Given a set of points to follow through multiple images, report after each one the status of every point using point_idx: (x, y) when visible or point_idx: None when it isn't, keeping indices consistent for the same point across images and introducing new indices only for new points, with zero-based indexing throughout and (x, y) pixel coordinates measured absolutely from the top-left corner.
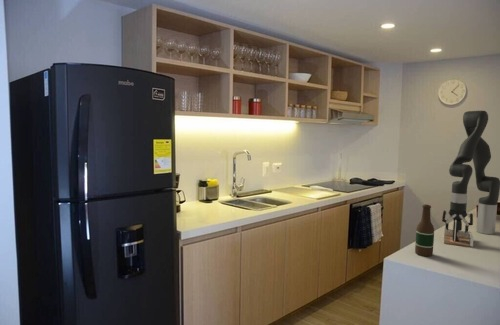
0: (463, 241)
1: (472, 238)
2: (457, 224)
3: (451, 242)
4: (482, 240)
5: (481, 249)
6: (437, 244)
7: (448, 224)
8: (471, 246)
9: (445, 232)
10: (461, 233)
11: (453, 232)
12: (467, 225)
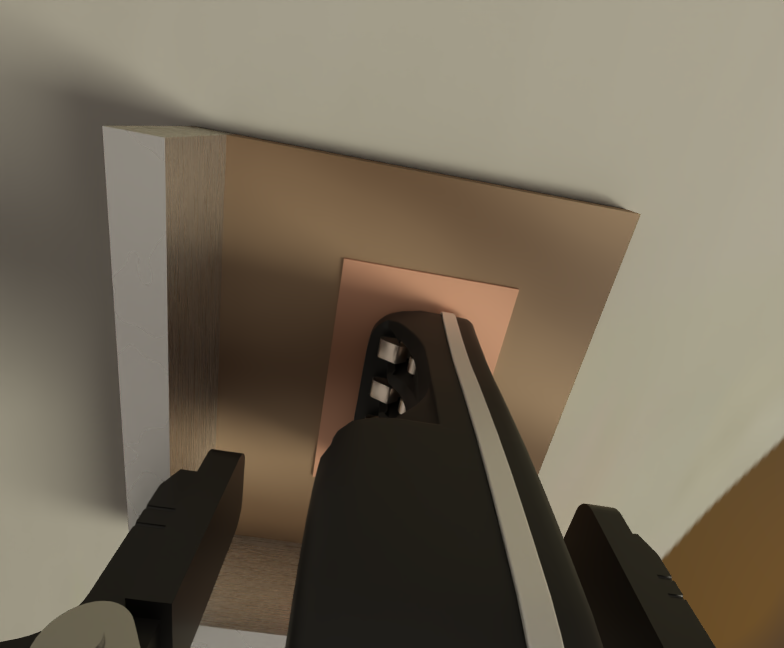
0: (300, 373)
1: (123, 213)
2: (464, 580)
3: (509, 246)
4: (60, 548)
5: (56, 79)
6: (771, 113)
7: (664, 640)
8: (206, 129)
9: None
10: (289, 597)
11: (502, 400)
12: (97, 617)
